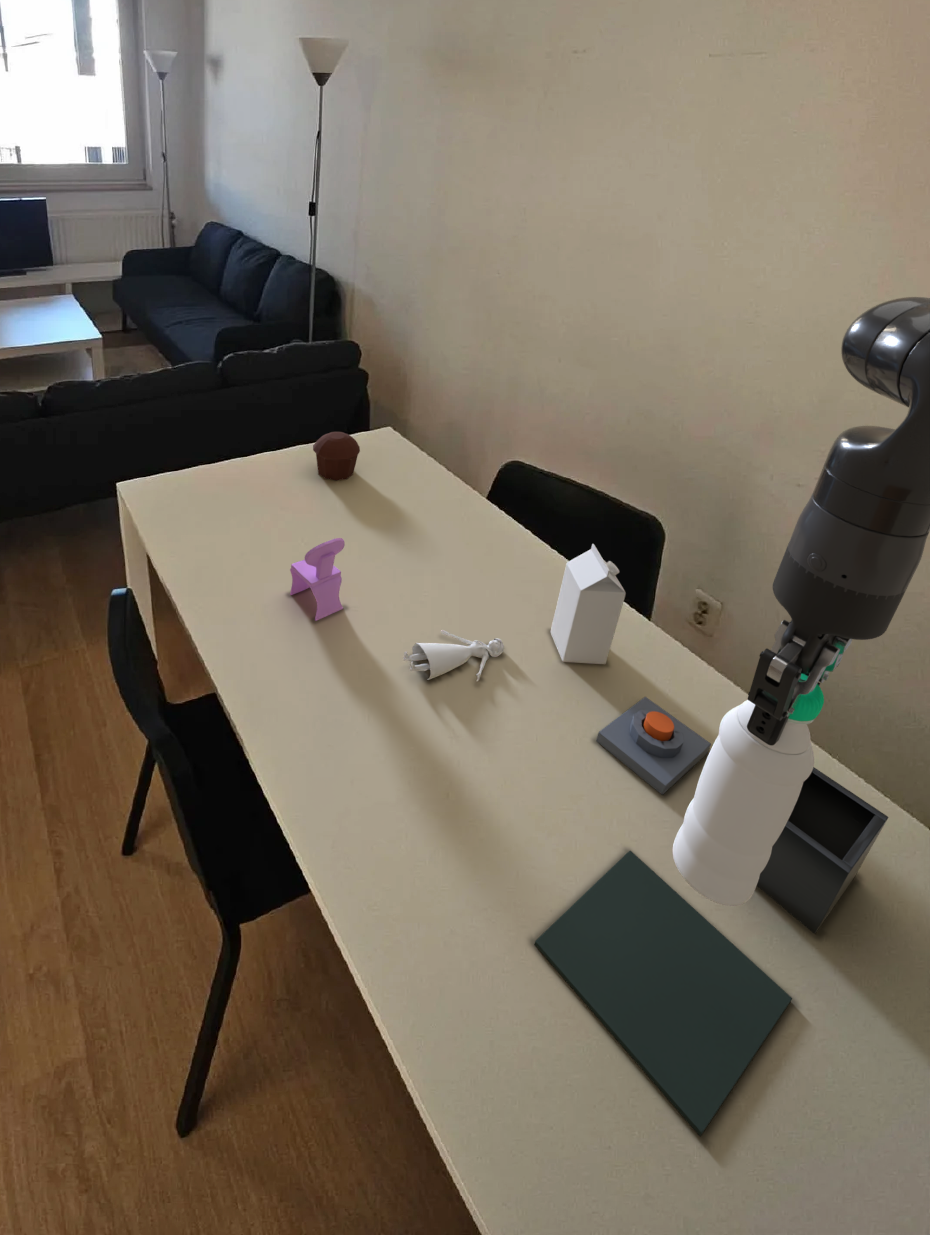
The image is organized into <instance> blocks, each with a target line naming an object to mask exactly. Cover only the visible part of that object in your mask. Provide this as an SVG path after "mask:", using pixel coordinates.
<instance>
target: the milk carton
mask: <svg viewBox="0 0 930 1235" xmlns="http://www.w3.org/2000/svg"><path fill="white" fill-rule="evenodd" d="M618 574H620V569H619V568H618V566H617V565H616V564H615V563H613V561H611V560H608V561H606V560H604V559H603V557H602V555H601V553H600V552H599V550H598V548H597V547H596V545H595V544H594V543H592V544H591V547H590V549H589V550H587V551H585V552H583V553H582V554H580V555H579V554H578V555H577V556H576V557H574V558H572V559H571V560H569V561H567V562H566V564H565V569H564V572H563V576H562V581H561V585H560V589H559V594H558V598H557V602H556V607H555V611H554V614H553V619H552V623H551V628H550V635H551V637H552V640H553V643H554V645H555V647H556V649H557V651H558V654H559V657H560V659H561V662H563V663H576V664H577V663H579V664H594V665H595V664H596V665H606V664H607V661H608V657H609V653H610V650H611V647H612V643H613V640H614V637H615V633H616V629H617V626H618V622H619V619H620V615H621V613H622V608H623V605H624V601H625V598H626V595H627V593H626V590H625V589H624V587H623V586H622V583H621V582H620V581H619V579H618V577H617V575H618Z"/></svg>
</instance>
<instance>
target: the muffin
mask: <svg viewBox="0 0 930 1235" xmlns="http://www.w3.org/2000/svg"><path fill="white" fill-rule="evenodd" d="M312 451H313V452H314V453H315V456H316V465H317V466H316V467H317V474H318V475H319V476H321V477H323V478H324V479H325V480H331V481H335V482H338V481H344V480H348V479H349V478H350V477H352V476H353V475H354V471H355V469H356V463H357V460H358V457H359V455H360V452H361V448H360V445H359V443H358V441H357V440H356V439H355V438H354V437H353V436H352V435H350V434H349V433H345V432H343V431H331V432H329V433H325V434H323V435H322V436H320V437H319V438H318V439H317V440H316V441H315V442H314V444H313V446H312Z"/></svg>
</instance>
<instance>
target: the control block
mask: <svg viewBox="0 0 930 1235" xmlns="http://www.w3.org/2000/svg"><path fill="white" fill-rule="evenodd" d="M653 711H655V712H660V713H662V714H664V715H666V716H667V717H669V718H670V719H671V720H672V722H673V724H674V730H673V733H672V736H671V738H670V739H669V740H668V741H660V740H657V739H654V738H652V737H651V736H650V735H648V734H647V733H646V731H645V730H644V727H643V724H644V721H645V718H646V715H647V714H648V713H649V712H653ZM595 742H596V743H598V744H599V745H600V746H601V747H603V748H604V749H605V750H606V751H607V752H608V753H610V754H611V755H613V757H615V758H616V759H617V760H618V761H620V762H621V763H622V764H624V765H625V766H626V767H627V768H628V769H630V770H631V771H632V772H633V773H635V774H636V775H637V776H638V777H640V778H641V779H642V780H643V781H645V782H646V783H647V784H648V785H649V786H651V787H652V788H653V789H654V790H655V791H657V792H658V793H659V795H662V796H663V795H664V794H665V793H666V792H667V791H668V790H670V789H671V788H672V787H673V786H674V785H675V784H676V783H677V782H678V781H679V780H680V779H681V778H682V777H684V776H685V775H686V774H687V773H688V772H689V771H690V770H691V769H692V768H693V767H694V766H696V765H697V764H698V763H699V762H700V761H701V760H702V759H704V757H706V755H707V754H709V752H710V750H711V746H712V743H711V742H710V741H708V740H707V739H706V738H704V737H702V736H701V735H700V734H699V733H697V732H696V731H695V730H692V729H691V728H690V727H689V726H687V725H686V724H685V723H683V722H682V721H681V720H679V719H677V717H675V716H673V715H672V714H670V712H668V711H666V709H664V708H662V707H661V706H659V705H658V704H657V703H655V702H654V701H653V700H651V699H650V698H648V697H647V696H644V697H642V698H641V699H640V700H639V701H637V702H636V703H634V704H633V705H632V706H631V707H629V708H628V709H627V710H626V711H624V712H622V713H621V714H620V715H619V716H617V717H616V718H615V719H613V721H611V722H610V723H609V724H607V725H606V726H604V727H603V728H602V729H600V730H599V731H598V733H597V737H596V740H595Z"/></svg>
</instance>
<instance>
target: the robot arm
mask: <svg viewBox="0 0 930 1235" xmlns="http://www.w3.org/2000/svg"><path fill="white" fill-rule="evenodd" d="M842 337H843V338H842V340H841V347H840V349H841V351H840V352H841V353H840V355H841V359H842V364H843V365H844V367H845V370H846V371H847V372H848V373H849V375H851V377H852V378H853V379H854V380H855V381H856V382H857V383H859V384H860V385H862V386H863V387H864V388H866V389H868V390H870V391H872V392H874V393H876V394H879V395H880V396H883V397H885V398H887V399H888V400H891V401H893V402H895V403H898V404H900V405H901V406H905V407H906V408H908V411H907V414H906V416H905V417H904V419H903V421H901V423H900V424H899V425H898V426H897V427H896V428H891V427H885V426H879V425H857V426H851V427H849V428H847V429H845V430H843V431H842V432H840V433H839V434H838V436H837V437H836V438H835V440H834V441H833V443H832V445H831V447H830V449H829V451H828V453H827V456H826V458H825V461H824V464H823V466H822V468H821V471H820V473H819V477H818V478H817V481H816V484H815V486H814V489H813V490H812V493H811V496H810V498H809V499H808V501H807V502H806V503H805V506H804V507H803V508H802V511H801V513H800V514H799V516H798V519H797V521H796V523H795V526H794V528H793V531H792V534H791V537H790V539H789V541H788V543H787V546H786V548H785V550H784V551H785V552H784V554H783V557H782V559H781V561H780V564H779V567H778V569H777V571H776V574H775V577H774V579H773V582H772V592H773V596H774V598H775V599H776V601H777V602H778V603H779V604H780V606H781V607H782V608H783V609H784V610H785V611H786V613H787V614H788V615H789V617H790V618H791V619H790V620H787V619H785V618H784V619H783V620H781V622H780V624H779V625H778V627H777V629H776V630H775V633H774V639H775V641H774V643H773V645H772V646H771V648H770V649H769V648H765V649H764V650H762V651H760V653H759V655H758V656H759V659H758V662H757V666H756V669H755V672H754V675H753V679H752V682H751V685H750V689H749V692H748V693H747V700H749V701H750V702H752V703H753V704H755V707H754V710H753V712H752V714H751V717H750V719H749V722H748V724H747V729H748V731H749V732H750V733H752V734H753V735H755V736H756V737H758V738H759V739H761V740H762V741H763V742H765V743H766V744H768V745H774V744H775V743H776V742H777V741H778V740H779V738H780V736H781V734H782V732H783V729H784V727H785V725H786V723H787V720H788V718H789V716H790V714H793V713H794V711H795V709H794V708H795V706H796V704H797V702H798V700H799V698H800V697H801V695H802V694H803V695H805V694H808V693H810V692H812V691H813V690H814V688H815V686H816V685H817V684H818V686H819V687H820V685H821V684H823V683H824V682H825V681H828V679H829V678H830V675H829V674H830V673H832V672H834V671H835V669H836V668H838V667H839V665H840V664H841V661H842V659H843V655H844V653H845V652H846V650H848V648H849V647H850V646H851V644H852V641H853V640H857V641H867V640H873V639H877V638H879V637H882V636H883V635H884V634H885V633H886V631H887V630H888V628H889V626H890V624H891V622H892V620H893V618H894V616H895V614H896V612H897V610H898V608H899V606H900V604H901V602H902V600H903V597H904V595H905V593H906V591H907V590H908V587H909V585H910V583H911V582H912V580H913V577H914V575H915V573H916V572H917V569H918V567H919V565H920V563H921V560H922V558H923V554H924V550H925V547H926V542H927V539H928V536H929V534H930V297H926V296H922V297H921V296H906V297H898V298H894V299H889V300H887V301H883V302H881V303H879V304H876V305H874V306H872V307H870V308H869V309H867V310H865V311H864V312H862V313H860V315H859V316H857V317H856V318H855V319H854V320H853V321H852V322H851V324H849V326H848V328H847V329H846V331H845V332H844V335H843V336H842ZM801 674H805V675H807V676H808V678H807V680H803V679H801V678H800V677H801Z"/></svg>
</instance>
